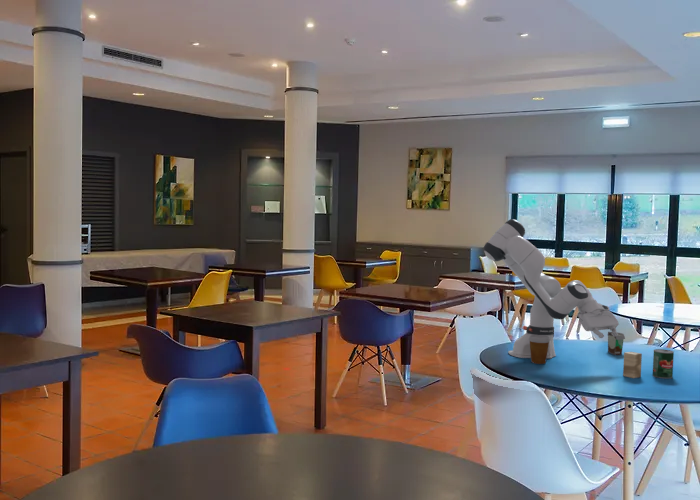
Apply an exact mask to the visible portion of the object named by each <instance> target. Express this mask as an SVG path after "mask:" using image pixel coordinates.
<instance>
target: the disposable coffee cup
mask: <svg viewBox="0 0 700 500" xmlns="http://www.w3.org/2000/svg"><path fill="white" fill-rule="evenodd" d="M529 341H530V351H531V358H530V360H531V363H533V364H535V365H537V364H538V365H543V364H545V365H546V362H547V358H546V357H547V351H548V345H549V341H550V339H549V337H548V336H542V335H531V336H530V337H529Z"/></svg>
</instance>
